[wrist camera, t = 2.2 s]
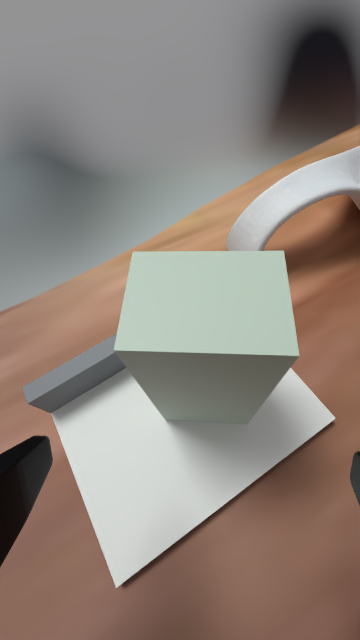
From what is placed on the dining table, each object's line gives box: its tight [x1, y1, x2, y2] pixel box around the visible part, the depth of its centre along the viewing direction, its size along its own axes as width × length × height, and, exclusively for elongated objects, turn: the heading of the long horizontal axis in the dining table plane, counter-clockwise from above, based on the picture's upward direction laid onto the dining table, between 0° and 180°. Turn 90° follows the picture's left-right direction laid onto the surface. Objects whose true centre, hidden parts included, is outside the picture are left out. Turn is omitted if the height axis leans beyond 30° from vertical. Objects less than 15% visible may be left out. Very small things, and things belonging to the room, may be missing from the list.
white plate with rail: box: [22, 334, 336, 588], centre depth 19 cm, size 16×12×4 cm
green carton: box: [114, 251, 299, 424], centre depth 15 cm, size 6×4×12 cm
